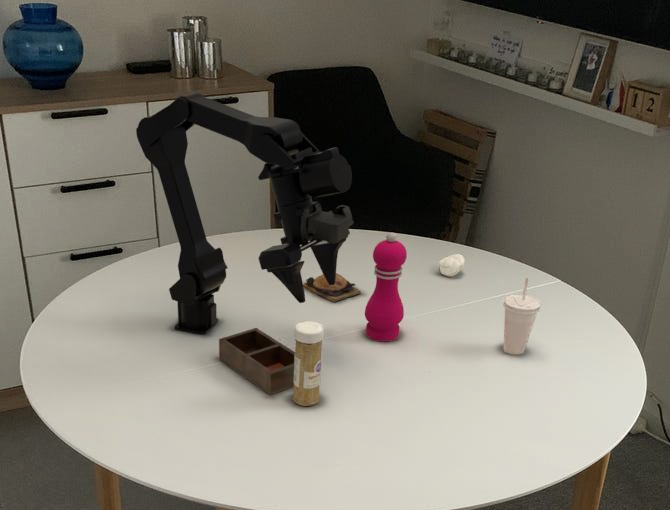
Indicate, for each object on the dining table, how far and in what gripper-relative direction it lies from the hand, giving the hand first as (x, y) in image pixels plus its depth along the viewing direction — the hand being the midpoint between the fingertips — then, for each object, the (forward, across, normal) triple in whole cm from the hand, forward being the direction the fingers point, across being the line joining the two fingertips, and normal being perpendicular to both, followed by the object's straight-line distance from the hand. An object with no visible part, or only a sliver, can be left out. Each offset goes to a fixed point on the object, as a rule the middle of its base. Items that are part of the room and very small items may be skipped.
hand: (317, 293), depth 149 cm
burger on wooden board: (+8, +30, +19) cm, 37 cm away
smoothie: (+22, +28, -19) cm, 40 cm away
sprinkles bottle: (+15, -10, 0) cm, 18 cm away
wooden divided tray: (+11, -7, +11) cm, 17 cm away
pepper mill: (+14, +18, +2) cm, 23 cm away
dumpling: (+13, +54, +5) cm, 56 cm away
